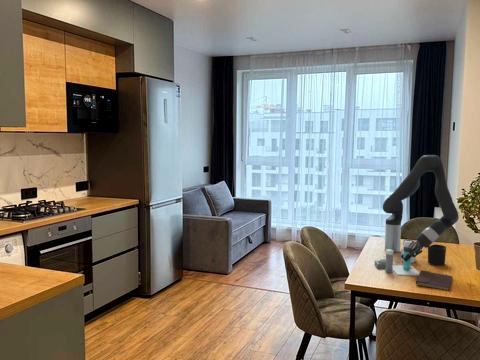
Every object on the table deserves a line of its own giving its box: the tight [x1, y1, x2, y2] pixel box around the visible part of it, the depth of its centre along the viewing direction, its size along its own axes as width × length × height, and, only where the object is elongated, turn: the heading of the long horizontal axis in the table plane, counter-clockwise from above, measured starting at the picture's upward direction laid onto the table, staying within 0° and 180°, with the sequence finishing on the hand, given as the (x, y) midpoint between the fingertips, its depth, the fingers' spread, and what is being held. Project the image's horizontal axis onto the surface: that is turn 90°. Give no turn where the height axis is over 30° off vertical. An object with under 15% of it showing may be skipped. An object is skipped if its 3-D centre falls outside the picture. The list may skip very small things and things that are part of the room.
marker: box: [402, 246, 412, 270], centre depth 228 cm, size 4×4×12 cm
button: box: [379, 257, 386, 263], centre depth 236 cm, size 3×3×3 cm
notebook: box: [415, 269, 453, 292], centre depth 210 cm, size 15×20×2 cm
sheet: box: [393, 265, 420, 277], centre depth 228 cm, size 16×12×1 cm
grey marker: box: [384, 249, 394, 274], centre depth 226 cm, size 4×4×12 cm
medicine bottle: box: [400, 239, 417, 264], centre depth 248 cm, size 7×7×12 cm
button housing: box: [374, 260, 386, 270], centre depth 236 cm, size 7×7×2 cm
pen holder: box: [427, 243, 447, 266], centre depth 242 cm, size 9×9×10 cm
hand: (403, 259), depth 228 cm, fingers open, 3 cm apart
